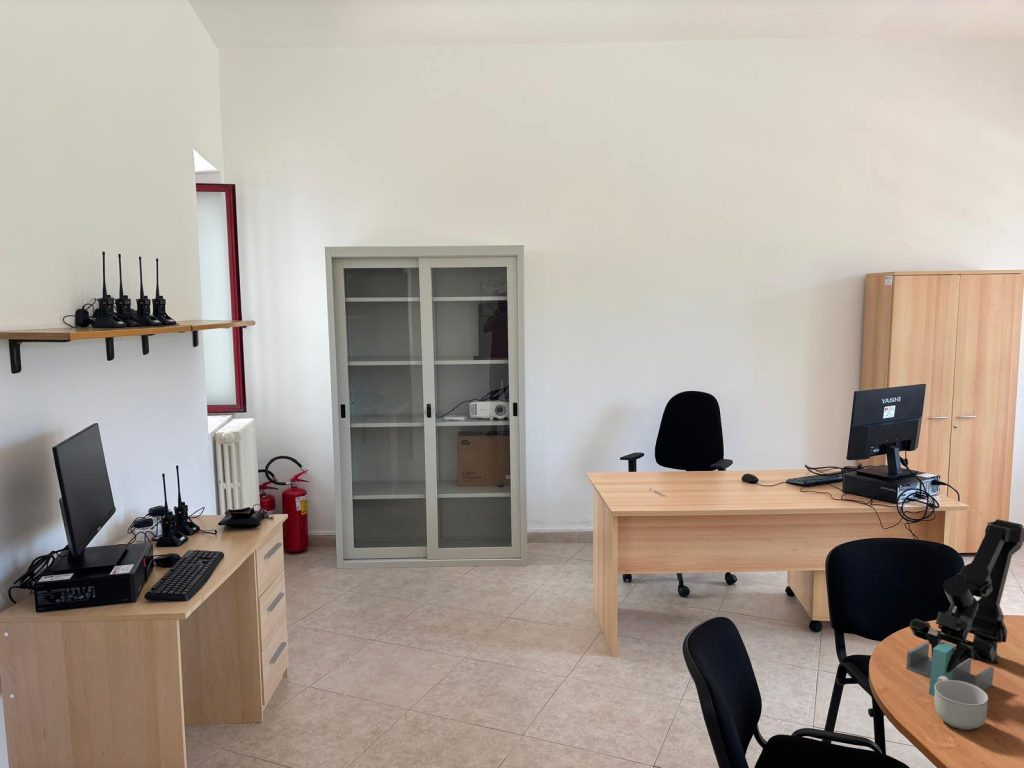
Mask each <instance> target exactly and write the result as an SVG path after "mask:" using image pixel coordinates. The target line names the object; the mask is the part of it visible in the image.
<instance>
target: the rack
mask: <svg viewBox="0 0 1024 768" xmlns="http://www.w3.org/2000/svg"><path fill="white" fill-rule="evenodd" d="M929 650H930V643H929V641H925V642H924V643H921V644H920V645H917V646H916V647H913V648H912V649H910V650H908V651H907V655H906V668H905V669H907V670H909V671H910V672H914V673H916V674H918V675H921V676H924V677H926V678H928V679H930V677H931V666H932V657H930V656H929V653H930V652H929ZM971 666H972V659H970V658H968V659H967V660H965V661H963V662H962V663H960V664H959V665H958V666H956V667H955V668H954V669H953V677H952V680H956V681H962V682H966V683H969V684H972V685H974V686H977V687H978V688H980V689H982V690H983V691H984V692H985V691H986V690H987V689H989V688H990V687H992V686H993V680H994V673H995V672H994V669H995V667H993V666H989V667H987V668H986V669H984V670H982V671H980V672H979V673H978V674H976V675H975V674H972V673H971V668H972V667H971Z"/></svg>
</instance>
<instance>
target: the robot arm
mask: <svg viewBox="0 0 1024 768" xmlns="http://www.w3.org/2000/svg"><path fill="white" fill-rule="evenodd" d="M1023 543H1024V525H1023V524H1022V523H1017V522H1013V521H1008V520H1003V519H998V518H997V519H995V521H988V522H987V525H986V527H985V530H984V536H983V539H982V541H981V542H980V543H979V547H978V549H977V551H976V553H975V555H974V557H973V558H972V561H971V562H970V563H968V564H966V565H964V566H962V568H961V569H960V572H959V573H958V572H957V573H956V575H955V576H950V577H948V578H947V579H946V580H944V581H943V584H942V588H943V591H944V593H945V595H946V597H947V599H948V600H947V601H949V603H950V606H949V609H948V610H946V612H941V611H938V613H937V617H936V620H935V621H936V622H935V624H936V625H938V626H937V627H938V629H940V630H937V629H936V628H932V626H931V625H930V622H928V621H925V620H921V619H919V618H914V619H912V620H910V623H909V629H910V630H911V632H912V634H913V636H915V637H916V638H919V639H921V640H925V641H927V642H928V643H929V645H930V646H931V648H930V649H931V656H932V655H933V648H934V647H936V646H937V645H939V644H940V643H941V642H946V643H949V644H952V645H955V652H954V654H953V656H952V658H951V660H950V662H949V664H948V667H947V670H946V671H947V672H948V673H949V672H950V671H952V670H953V669H954V668H955V667H956V666H958V665H959V664H960V663H962V662H963V661H965V660H967V659H968V658H970V659H971V660H973V659H975V660H980V661H983V662H990V663H992V664H999V663H1000V661H999V657H998V644H1001V643H1006V642H1007V639H1008V638H1007V637H1008V629H1007V626H1006V624H1005V622H1004V618H1005V615H1004V613H1003V610H1002V608H1001V601H1002V597H1003V594H1004V593H1003V592H1004V590H1005V589H1004V588H1005V584H1006V581H1007V577H1008V574H1009V569H1010V565H1011V563H1012V556H1013V555H1014V554H1016V553H1017V552H1018V551H1019V550H1021V548H1022V546H1023ZM976 597H977V598H979V599H978V600H977V598H976ZM969 634H972V635H973V639H972V641H971V640H968V639H967V638H968V636H969Z"/></svg>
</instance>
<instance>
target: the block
mask: <svg viewBox="0 0 1024 768" xmlns="http://www.w3.org/2000/svg"><path fill="white" fill-rule="evenodd" d="M955 648H956V645H955V644H952V643H949V642H946V641H941V642H940V644H939V645H937V646H936V647H934V648H933V655H932V654H931V658H932V666H931V677H930V678H929V687H928V688H929V692H928V694H930V695H932V696H934V697H935V689H934V686H935V684H936V683H937V681H938V678H939V677H940V676H945V677H947V678H948V679H949V680H952V677H953V670H952V671H950V672H949V673H948V672H947V671H946V670H947V667H948V664H949V662H950V660H951V658H952V656H953V654H954V652H955Z"/></svg>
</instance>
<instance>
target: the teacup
mask: <svg viewBox="0 0 1024 768" xmlns="http://www.w3.org/2000/svg"><path fill="white" fill-rule="evenodd" d="M934 689H935V696H934V710H935V713H937V716H939V718H940V719H941V720H943V722H945V723H946V724H947V725H948V726H950V727H952V728H956V729H957V730H958V729H959V730H963V731H964V730H965V731H970V730H975V729H977V728H980V727H981V726H983V725H984V724H985V722H986V719H987V715H988V714H987V713H988V712H987V711H988V701H989V696H988V694H987V693H986V692H985V690H984V691H983V690H982V689H980V688H978V687H977V686H974V685H972V684H969V683H966V682H962V681H956V680H949V679H948V678H947V677H945V676H940V677H939V678H938V681H937V683H936V684H935V686H934Z"/></svg>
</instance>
